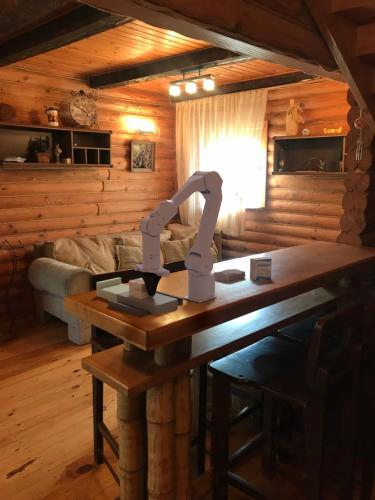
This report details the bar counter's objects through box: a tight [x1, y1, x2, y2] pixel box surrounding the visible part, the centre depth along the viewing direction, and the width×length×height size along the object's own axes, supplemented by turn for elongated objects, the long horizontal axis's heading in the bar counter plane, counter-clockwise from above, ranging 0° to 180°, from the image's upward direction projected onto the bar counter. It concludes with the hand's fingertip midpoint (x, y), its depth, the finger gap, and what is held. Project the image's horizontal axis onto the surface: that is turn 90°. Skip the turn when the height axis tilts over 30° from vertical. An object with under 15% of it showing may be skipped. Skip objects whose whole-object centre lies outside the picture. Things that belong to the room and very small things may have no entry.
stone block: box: [212, 268, 246, 284], centre depth 179 cm, size 12×5×10 cm
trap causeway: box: [95, 277, 184, 318], centre depth 147 cm, size 19×30×5 cm, turn 47°
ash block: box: [128, 277, 154, 299], centre depth 144 cm, size 6×6×5 cm
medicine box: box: [249, 256, 273, 281], centre depth 178 cm, size 8×4×9 cm, turn 115°
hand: (151, 295), depth 141 cm, fingers closed
